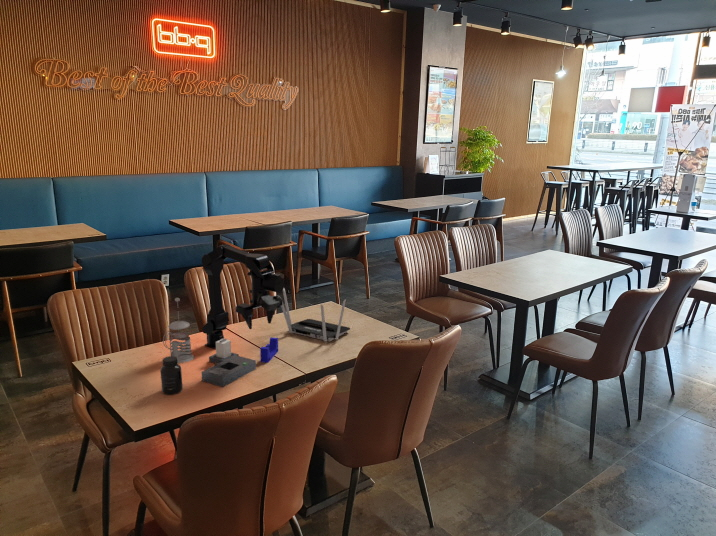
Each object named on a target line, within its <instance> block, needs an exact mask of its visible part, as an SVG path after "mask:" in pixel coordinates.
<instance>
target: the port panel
mask: <svg viewBox="0 0 716 536" xmlns="http://www.w3.org/2000/svg"><path fill="white" fill-rule="evenodd" d="M255 370H257V361H256V359H255V360H254V359H251V358H248V357H244V356H237V355H235V356H233V357H231V358H229V359H227V360H225V361H223V362H220V363H218V364H216V363H215V365H212V366H210V367H208V368H207V369H204V370H203V371H201V381H202V382H205V383H207V384H212V385H214V386H217V387H221V388H224V387H227V386H228V385H230V384H232V383H233V382H235V381H237V380H239V379H241V378H243V377H245V376H246V375H248V374H250V373H252V372H253V371H255Z"/></svg>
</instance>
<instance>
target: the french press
mask: <svg viewBox="0 0 716 536" xmlns="http://www.w3.org/2000/svg"><path fill="white" fill-rule="evenodd" d="M174 301H175V302H176V303H177V304H176V305H177V307H179V302H180V301H181V299H180V298H179V297H175V298H174ZM179 314H180V313H179V312H177V318H178V320H177V321H176V320H175V321H173V322H171V323H170V324H168V326H167V327H168V328H169V330H167V331H166V332H165V333H164V335H163V338H162V344H163V346H164V347H165V348H166V349H168V350H169V352H170V353H169V354H170V356H175V357H177V361H178V364H184V363H189V362H190V361H193V360H194V359H195V355H193V354H192V345H191V344H192V343H191V337H190V333H189V332H185V331H182V332H181V331H180V330H184V329H188V328H190V325H191V324H190V323H189V322H188V321H186V320H180V315H179ZM170 330H172V331H173V330H175V331H176V330H177V331H178V332H177V331H176V332H174V333H173V332H172V331H170ZM169 335H170V338H169V347H168V345H167V337H168V336H169ZM165 336H166V337H165Z"/></svg>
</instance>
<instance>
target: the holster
mask: <svg viewBox="0 0 716 536" xmlns="http://www.w3.org/2000/svg"><path fill="white" fill-rule="evenodd" d="M235 355H237V356H239V353H235V352H232V351H231V356H230V357H228V358H226V359H221V358H217V357H216V353H214V354H212V355H210V356H208V361H209V362H210V363H213V364H215V365H216V364H218V363H220V362H223V361H225V360H227V359H229V358H231V357H233V356H235Z"/></svg>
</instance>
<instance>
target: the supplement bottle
mask: <svg viewBox="0 0 716 536" xmlns="http://www.w3.org/2000/svg"><path fill="white" fill-rule="evenodd" d="M159 371H160V381H161V391H162V393H163V394H164V395H167V396H168V395H169V396H172V395H177V394H179V393H180V392H182V391H183V389H184V388H183V375H182V374H183V373H182V366H181V364H180V363H178V361H177V357H175V356H171V355H169V356H166V357H163V358H162V366H161V368H160V370H159Z"/></svg>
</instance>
